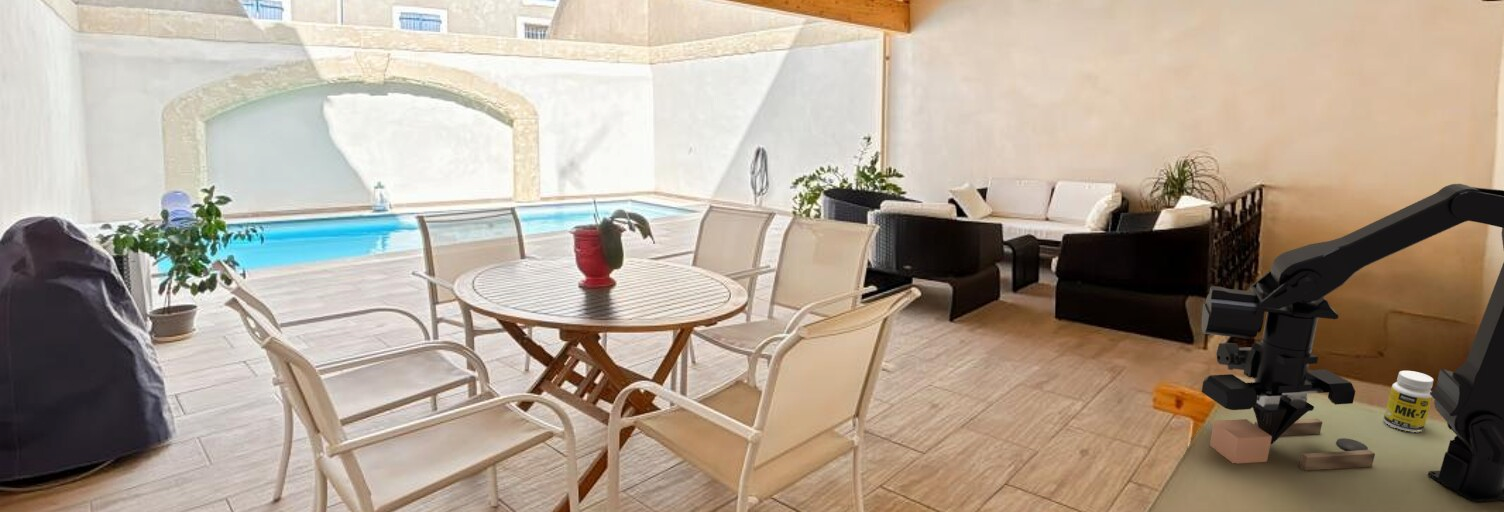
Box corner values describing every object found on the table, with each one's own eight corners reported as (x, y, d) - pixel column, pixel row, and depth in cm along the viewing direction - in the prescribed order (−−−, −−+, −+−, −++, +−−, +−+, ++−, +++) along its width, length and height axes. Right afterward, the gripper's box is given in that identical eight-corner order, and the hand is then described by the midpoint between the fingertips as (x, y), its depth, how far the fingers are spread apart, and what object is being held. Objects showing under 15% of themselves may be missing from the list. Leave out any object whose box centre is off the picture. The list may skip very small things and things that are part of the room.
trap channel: (1334, 429, 114) (1337, 417, 114) (1394, 465, 105) (1397, 452, 104) (1252, 433, 113) (1254, 422, 113) (1304, 470, 104) (1307, 457, 103)
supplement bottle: (1387, 429, 114) (1399, 378, 112) (1379, 415, 118) (1391, 366, 116) (1427, 436, 112) (1441, 385, 110) (1418, 422, 116) (1431, 372, 114)
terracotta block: (1241, 443, 111) (1246, 419, 109) (1266, 461, 106) (1271, 436, 105) (1209, 445, 110) (1214, 420, 109) (1233, 463, 105) (1238, 438, 104)
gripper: (1304, 318, 112) (1285, 412, 116) (1185, 324, 110) (1170, 419, 115) (1369, 348, 101) (1345, 450, 105) (1238, 354, 100) (1219, 458, 104)
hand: (1266, 442), depth 108 cm, fingers closed
